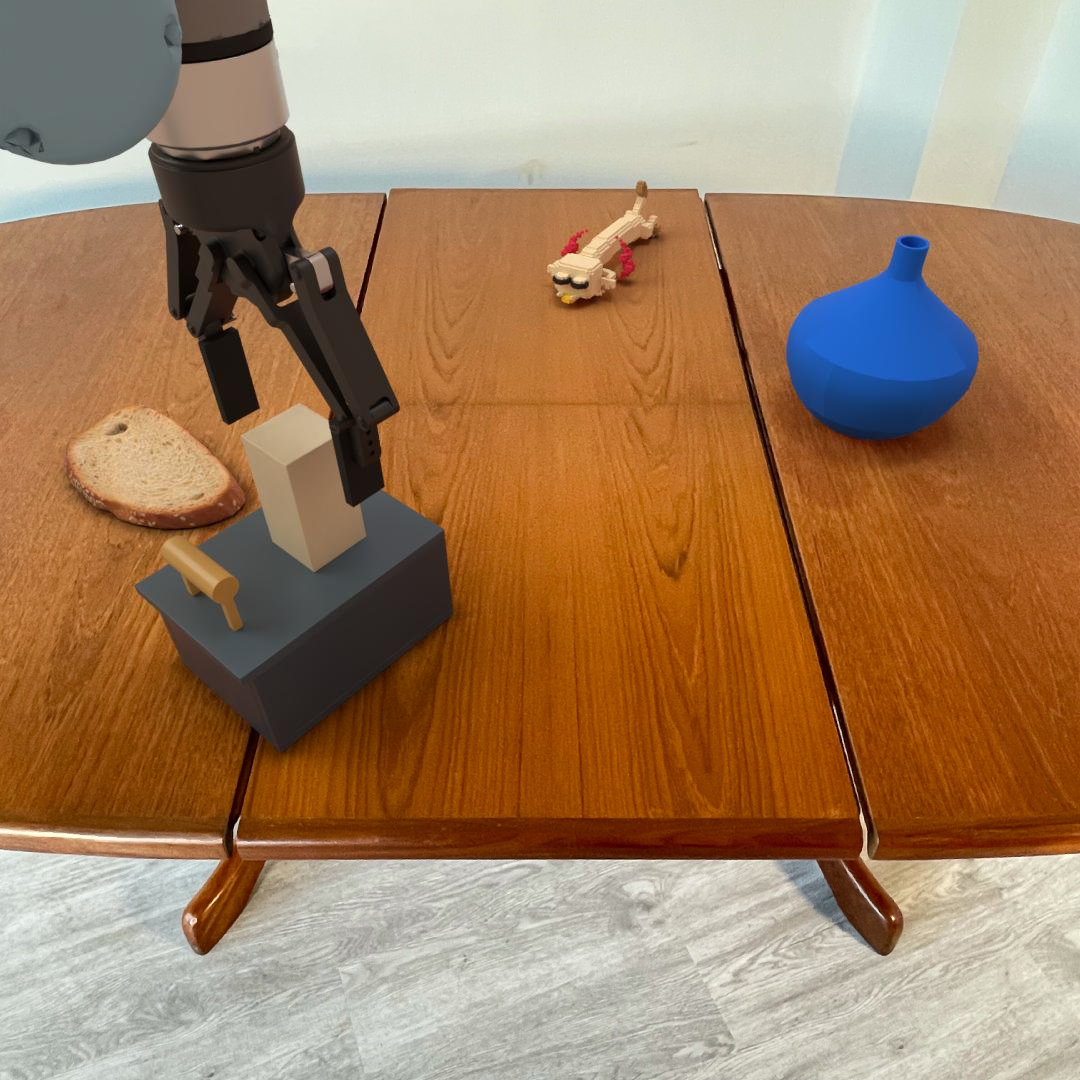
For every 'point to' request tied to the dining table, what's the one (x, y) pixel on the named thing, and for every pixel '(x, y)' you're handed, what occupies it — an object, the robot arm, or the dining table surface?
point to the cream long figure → (601, 254)
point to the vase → (882, 352)
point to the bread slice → (151, 471)
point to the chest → (333, 653)
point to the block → (302, 487)
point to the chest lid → (276, 584)
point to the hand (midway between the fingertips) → (300, 453)
